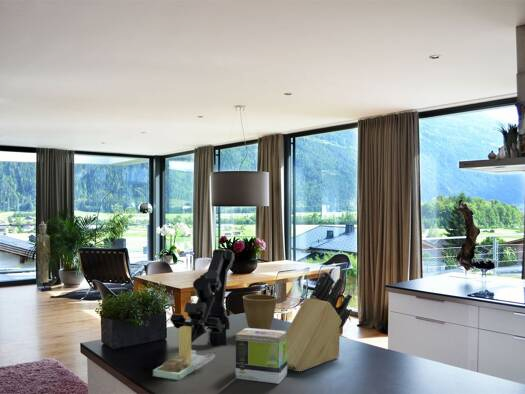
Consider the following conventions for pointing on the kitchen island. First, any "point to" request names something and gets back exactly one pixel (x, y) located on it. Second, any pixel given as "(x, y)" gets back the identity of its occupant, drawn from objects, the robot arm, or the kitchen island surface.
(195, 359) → the slot rail
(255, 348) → the tea box
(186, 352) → the tall yellow pillar
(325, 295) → the knife block
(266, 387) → the kitchen island surface
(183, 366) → the maple block
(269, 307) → the plant pot
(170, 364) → the walnut block
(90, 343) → the kitchen island surface
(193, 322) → the robot arm
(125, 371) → the kitchen island surface
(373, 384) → the kitchen island surface
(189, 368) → the tray
